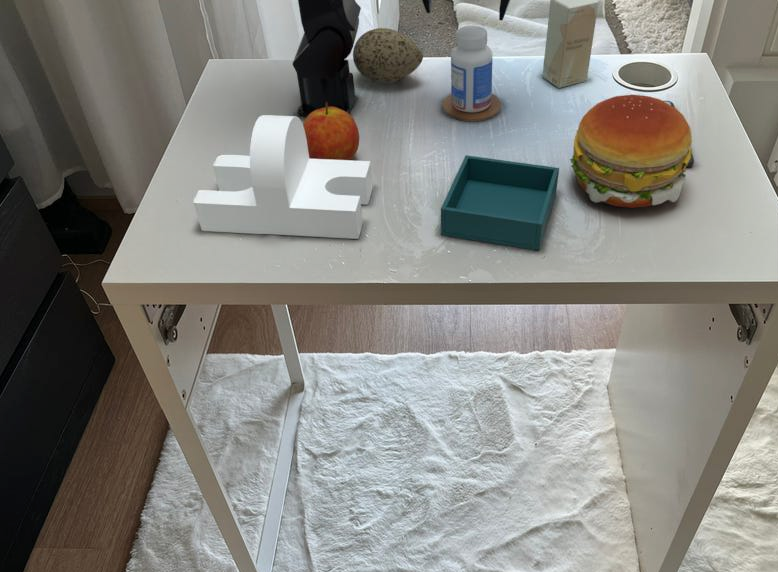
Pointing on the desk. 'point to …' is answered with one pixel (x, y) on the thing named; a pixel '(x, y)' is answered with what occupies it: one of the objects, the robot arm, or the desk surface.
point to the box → (569, 41)
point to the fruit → (331, 134)
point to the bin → (500, 202)
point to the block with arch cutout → (285, 187)
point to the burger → (632, 151)
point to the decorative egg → (386, 55)
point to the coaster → (467, 116)
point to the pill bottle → (471, 70)
